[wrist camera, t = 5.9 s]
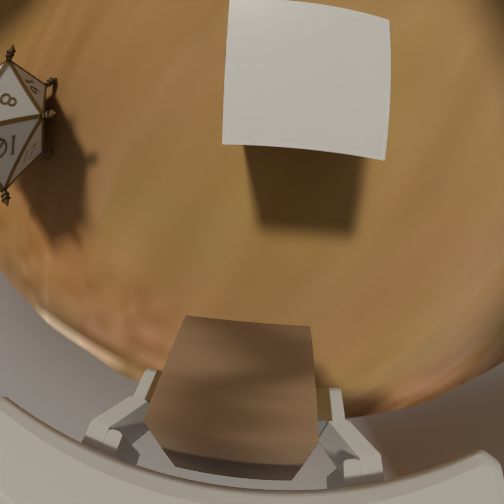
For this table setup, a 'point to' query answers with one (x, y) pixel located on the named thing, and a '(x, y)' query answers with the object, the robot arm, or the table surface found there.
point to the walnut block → (237, 399)
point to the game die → (20, 121)
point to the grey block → (307, 78)
